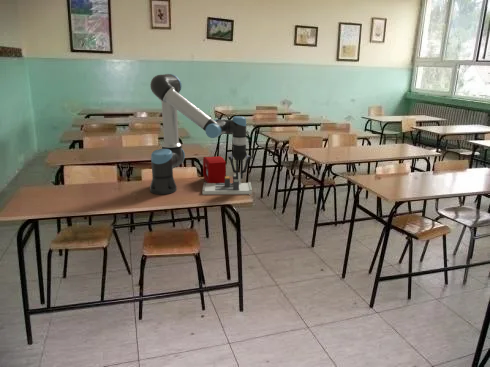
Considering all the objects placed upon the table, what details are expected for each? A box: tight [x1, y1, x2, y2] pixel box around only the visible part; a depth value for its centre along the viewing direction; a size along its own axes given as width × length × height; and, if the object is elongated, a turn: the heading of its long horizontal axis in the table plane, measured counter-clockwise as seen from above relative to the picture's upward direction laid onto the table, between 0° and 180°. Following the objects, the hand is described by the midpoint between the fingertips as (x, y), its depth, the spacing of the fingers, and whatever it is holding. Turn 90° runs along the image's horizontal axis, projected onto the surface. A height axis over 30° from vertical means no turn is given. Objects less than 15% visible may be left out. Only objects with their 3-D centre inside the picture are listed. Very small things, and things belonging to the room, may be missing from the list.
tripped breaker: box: [225, 175, 231, 187], centre depth 233 cm, size 3×3×5 cm
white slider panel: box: [202, 174, 253, 195], centre depth 233 cm, size 28×15×8 cm, turn 93°
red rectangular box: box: [202, 155, 227, 183], centre depth 249 cm, size 16×11×15 cm
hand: (239, 183), depth 234 cm, fingers closed
